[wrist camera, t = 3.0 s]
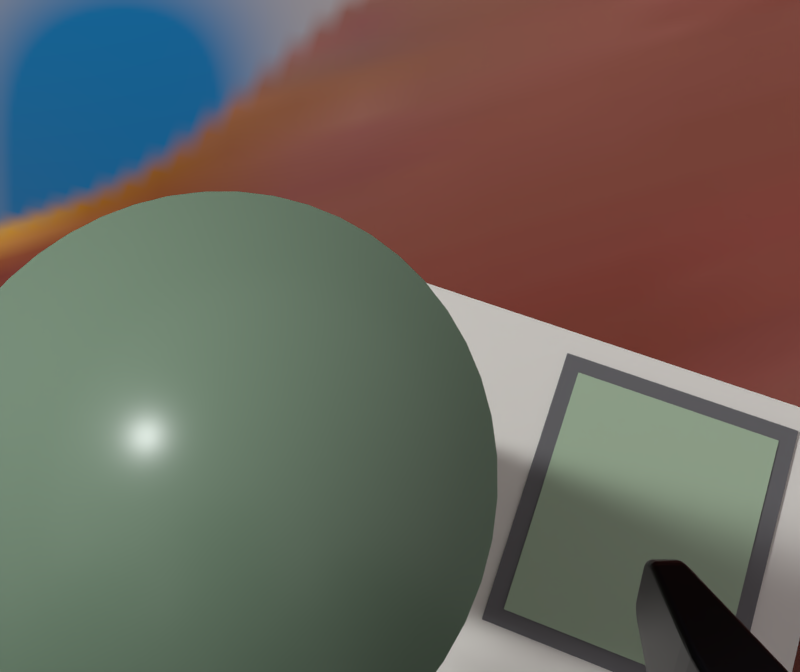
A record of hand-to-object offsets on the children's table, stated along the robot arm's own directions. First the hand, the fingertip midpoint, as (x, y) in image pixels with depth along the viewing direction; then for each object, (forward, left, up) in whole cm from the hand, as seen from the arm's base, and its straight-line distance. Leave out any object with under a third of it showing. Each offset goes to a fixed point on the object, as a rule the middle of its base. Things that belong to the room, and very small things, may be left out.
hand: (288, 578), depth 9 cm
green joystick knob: (+1, 0, -8) cm, 8 cm away
